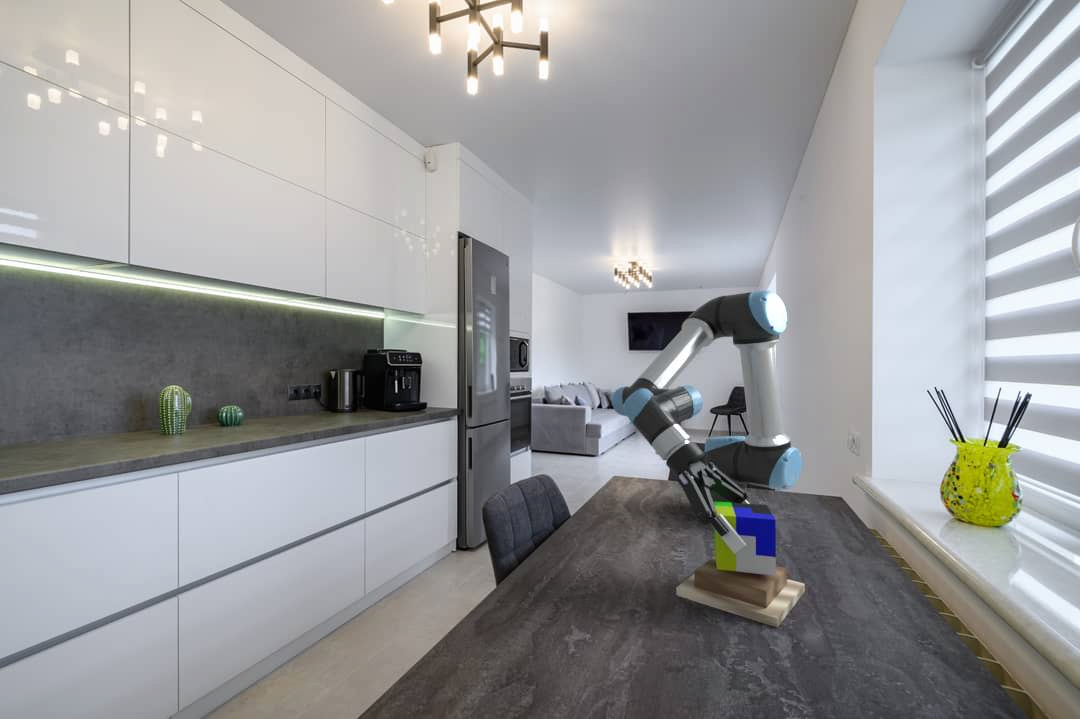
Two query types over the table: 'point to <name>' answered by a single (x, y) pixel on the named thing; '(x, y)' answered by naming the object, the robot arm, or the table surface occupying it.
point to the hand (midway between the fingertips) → (753, 539)
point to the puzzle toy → (747, 539)
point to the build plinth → (745, 607)
